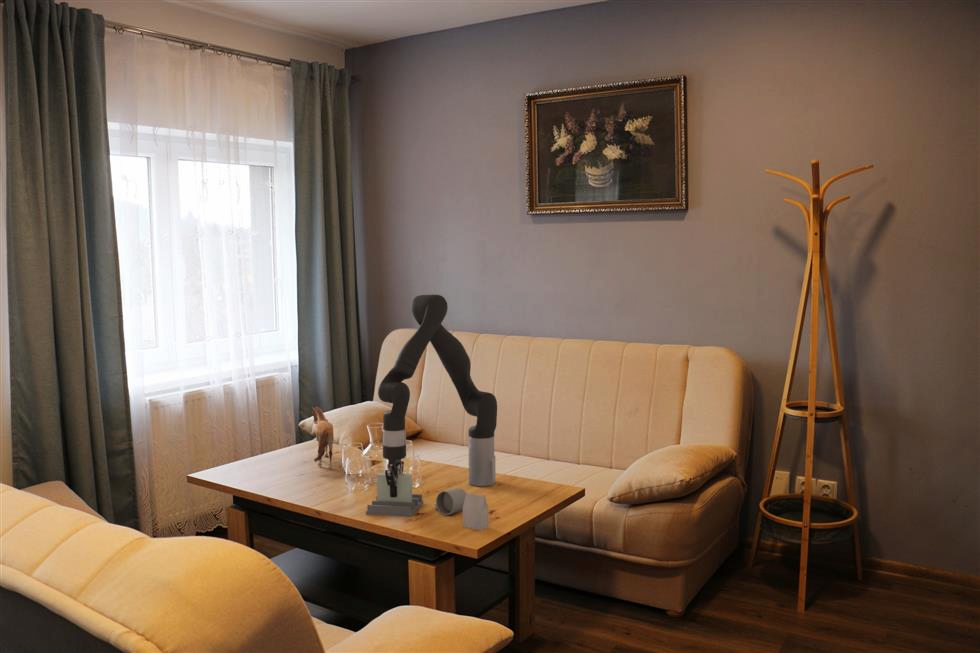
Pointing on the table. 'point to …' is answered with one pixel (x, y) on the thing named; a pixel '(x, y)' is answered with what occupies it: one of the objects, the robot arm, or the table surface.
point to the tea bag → (475, 512)
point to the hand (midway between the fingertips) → (394, 495)
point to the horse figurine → (323, 435)
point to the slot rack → (395, 507)
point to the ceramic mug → (450, 501)
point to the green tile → (402, 488)
